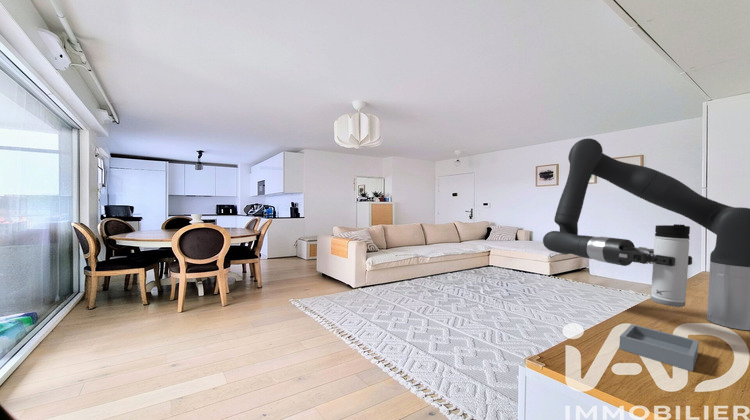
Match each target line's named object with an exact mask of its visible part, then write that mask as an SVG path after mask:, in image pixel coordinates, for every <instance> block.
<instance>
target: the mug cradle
mask: <svg viewBox="0 0 750 420" xmlns="http://www.w3.org/2000/svg"><path fill="white" fill-rule="evenodd" d="M619 350H621V351H624V352H628V353H631V354H635V355H637V356H641V357H644V358H648V359H651V360H654V361H657V362H660V363H664V364H667V365H670V366H674V367H677V368H679V369H682V370H686V371H689V372H692V373H693V372H694V369H695V366H696V362H697V359H698V355H699V340H696V339H692V338H688V337H685V336H681V335H676V334H673V333H669V332H664V331H662V330H657V329H653V328H649V327H645V326H640V325H637V324H632V323H631V324H630V325H629V326H628V327H627V328H626V329H625V330H624V331H623V332H622V333H621V335H620V336H619Z"/></svg>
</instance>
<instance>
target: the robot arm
mask: <svg viewBox="0 0 750 420" xmlns="http://www.w3.org/2000/svg"><path fill="white" fill-rule="evenodd" d="M568 163H569V164H570V165H569V171H568V175H567V179H566V183H565V185H564V188H563V190H562V193H561V195H560V199H559V202H558V205H557V208H556V212H555V215H554V222H555V223H556V225H558V227H559V230H553V231H552V230H551V231H549V232H546V234H544V236H543V238H542V244H543V246H544V247H545V248H546V249H547V250H548V251H550V252H554V253H558V254H562V255H575V256H576V257H581V258H585V259H590V260H595V261H597V262H601V263H607V264H612V265H616V266H617V265H618V266H623V267H627V266H630V265H631V264H632V263H639V264H643V265H647V264H649V265H653V264H654V262H655V264H660V265H666V266H675V258H674V257H669V256H662V255H655V254H654V248H648V247H645V246H639V247H635V244H634V242H632V241H631V240H630V239H626V238H618V237H617V238H616V237H608V236H594V235H593V236H592V235H582V234H579V224H578V223H579V219H580V217H581V213H582V210H583V205H584V201H585V197H586V194H587V190H588V186H589V183H590V179H591V177H592V176H595V177H598V178H601V179H603V180H605V181H607V182H609V183H611V184H612V185H615V186H616V187H618V188H619V189H621V190H624V191H626V192H627V193H630V194H632V195H634V196H636V197H637V198H639V199H642V200H644V201H646V202H648V203H651V204H653V205H655V206H657V207H660V208H662V209H664V210H667V211H671V212H673V213H676V214H678V215H680V216H683V217H686V218H687V219H689V220H691V221H692V222H695V223H696V224H698V225H699V226H700V227H701V226H702V227H703V228H704V229H706V230H708V231H709V232H711V233H713V234H714V235H716V240H715V245H714V249H713V250H712V251H711V252H710V255H709V257H710V258H709V275H708V276H709V277H708V290H707V291H708V292H707V293H708V294H707V306H706V307H707V309H706V320H707V321H709V322H710V323H713V324H716V325H719V326H723V327H726V328H732V329H735V330H741V331H742V330H743V331H750V208H749V207H737V206H736V207H735V206H731V205H726V204H724V203H721V202H719V201H715V200H713V199H710V198H709V197H705V196H703V195H701V194H700V193H698V192H696V191H694V190H693V188H691V187H690V186H688V185H686V184H685V183H683V181H682V182H681V180H678V179H677V178H675V177H672V176H670V175H668V174H667V173H664V172H661V171H658V170H657V169H654V168H650V167H647V166H643V165H639V164H635V163H628V162H623V161H620V160H618V159H615V158H613V157H611V156H609V155H607V154H606V153H604V152H603V146H602V144H601V143H600V142H599V141H598V140H596V139H594V138H590V137H589V138H582V139H580V140H578V141H577V142H575V143H574V144H573V146H571V148H570V150H569V152H568ZM692 264H693V257H692V256H691V255H688V266H690V265H692Z"/></svg>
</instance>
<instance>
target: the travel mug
mask: <svg viewBox="0 0 750 420" xmlns="http://www.w3.org/2000/svg"><path fill="white" fill-rule="evenodd" d="M654 230H655V231H654V232H655V233H654V244H653V249H654V254H655V255H662V256H669V257H674V258H675V266H666V265H660V264H655V262H654V264H652V274H651V291H650V293H651V295H650V300H651V301H652V302H654V303H656V304H659V305H663V306H668V307H677V308H682V307H685V306H686V302H687V301H686V298H687V285H688V284H687V283H688V282H687V281H688V271H689V270H688V268H689V265H688V256H690V255H689V253H690V252H689V251H690V232H691V231H690V230H691V227H690V226H689V225H685V224H680V223H679V224H672V225H668V224H667V225H666V224H665V225H664V224H661V225H660V224H659V225H658V224H657V225H655V229H654Z"/></svg>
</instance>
